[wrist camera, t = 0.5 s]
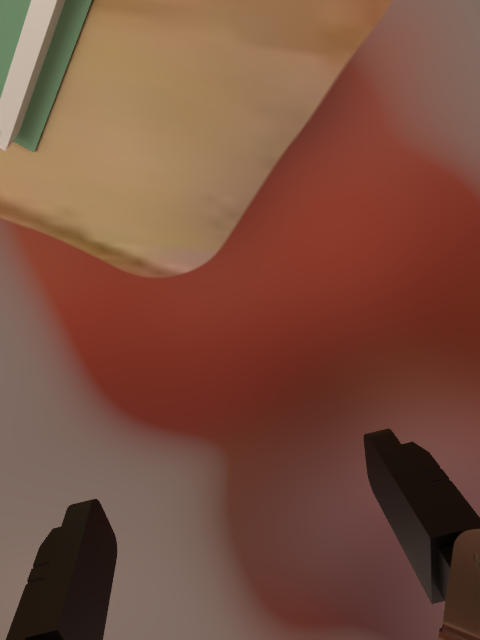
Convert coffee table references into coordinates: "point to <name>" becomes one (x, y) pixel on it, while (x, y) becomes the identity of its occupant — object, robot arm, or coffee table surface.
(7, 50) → the felt strip
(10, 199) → the coffee table surface
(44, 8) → the white side walls
